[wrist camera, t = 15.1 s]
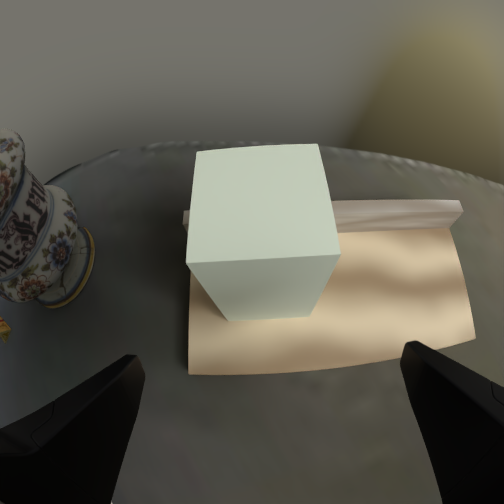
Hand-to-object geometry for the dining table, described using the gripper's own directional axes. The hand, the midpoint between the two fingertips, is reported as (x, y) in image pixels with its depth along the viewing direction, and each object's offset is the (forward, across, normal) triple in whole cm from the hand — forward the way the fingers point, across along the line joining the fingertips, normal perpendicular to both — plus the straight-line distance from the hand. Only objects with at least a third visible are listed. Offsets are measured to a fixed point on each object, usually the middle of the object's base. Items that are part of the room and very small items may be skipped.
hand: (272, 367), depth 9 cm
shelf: (+14, -6, +5) cm, 16 cm away
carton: (+13, 0, +3) cm, 14 cm away
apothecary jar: (+16, +22, +2) cm, 28 cm away
